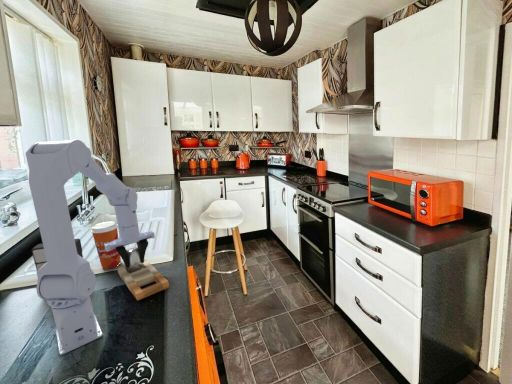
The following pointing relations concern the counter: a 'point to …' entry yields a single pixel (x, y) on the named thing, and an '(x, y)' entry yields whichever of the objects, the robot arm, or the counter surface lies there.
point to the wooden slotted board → (143, 280)
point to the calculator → (41, 257)
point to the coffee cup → (104, 235)
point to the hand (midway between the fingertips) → (134, 264)
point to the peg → (134, 259)
